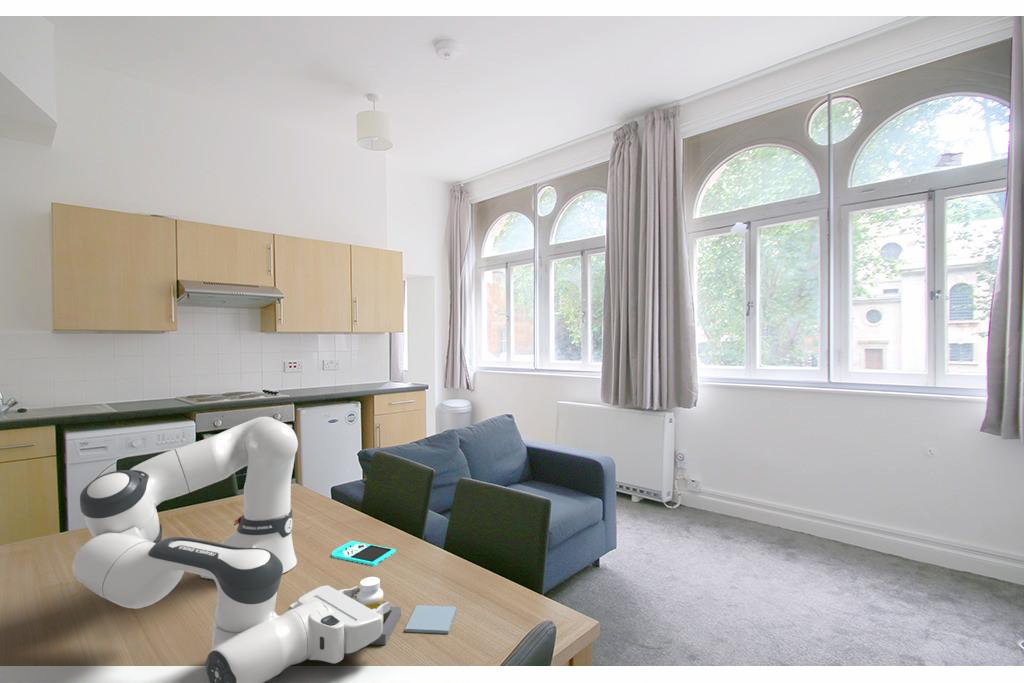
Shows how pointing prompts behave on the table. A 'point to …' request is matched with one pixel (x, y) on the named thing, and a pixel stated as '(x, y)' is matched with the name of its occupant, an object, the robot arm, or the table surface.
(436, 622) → the rubber mat
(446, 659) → the table surface
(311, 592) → the robot arm
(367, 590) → the supplement bottle
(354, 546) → the handheld game console
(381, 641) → the power strip
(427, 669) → the table surface
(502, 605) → the table surface
